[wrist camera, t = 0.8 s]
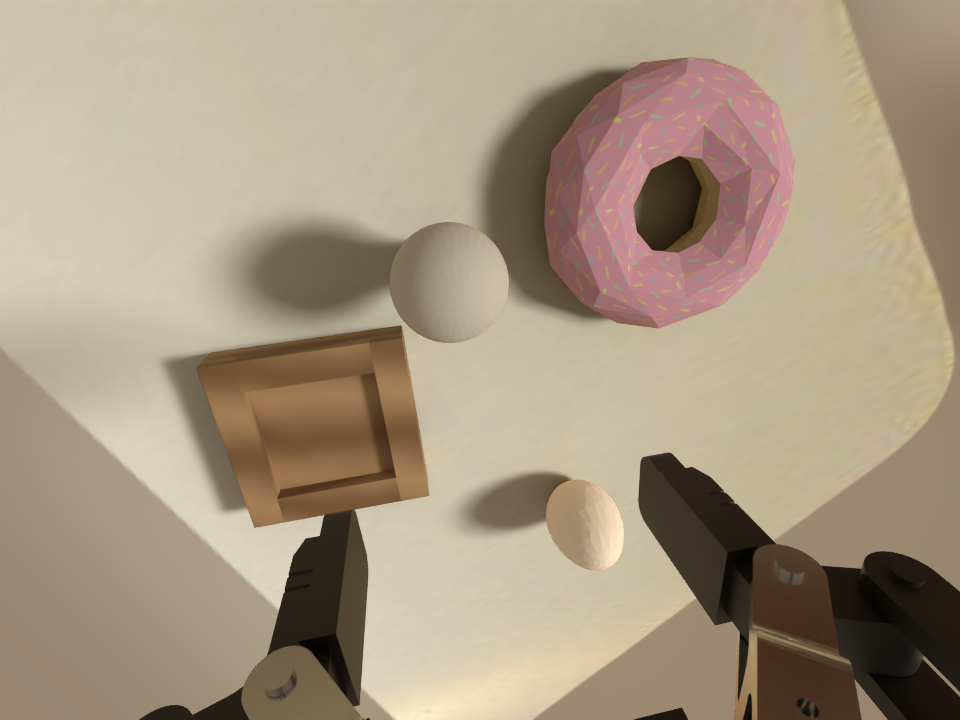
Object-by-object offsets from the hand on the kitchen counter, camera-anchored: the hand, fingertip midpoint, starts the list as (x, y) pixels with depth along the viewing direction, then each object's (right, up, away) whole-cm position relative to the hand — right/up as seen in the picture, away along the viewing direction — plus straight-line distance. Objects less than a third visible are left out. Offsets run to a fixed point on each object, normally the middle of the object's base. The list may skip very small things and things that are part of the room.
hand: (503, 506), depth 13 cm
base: (-11, 0, +20) cm, 23 cm away
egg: (+7, -7, +26) cm, 27 cm away
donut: (+10, +15, +18) cm, 25 cm away
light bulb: (-3, +11, +17) cm, 20 cm away
